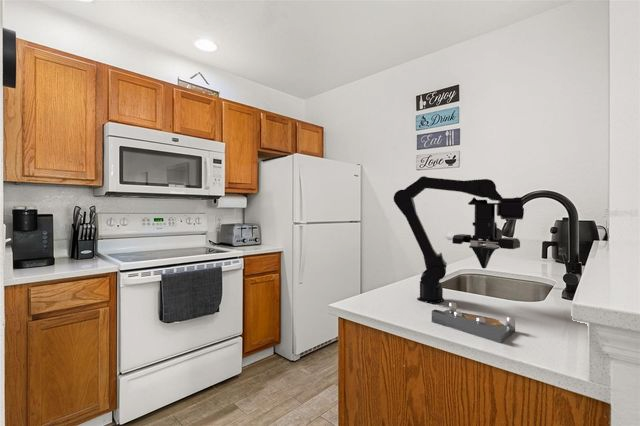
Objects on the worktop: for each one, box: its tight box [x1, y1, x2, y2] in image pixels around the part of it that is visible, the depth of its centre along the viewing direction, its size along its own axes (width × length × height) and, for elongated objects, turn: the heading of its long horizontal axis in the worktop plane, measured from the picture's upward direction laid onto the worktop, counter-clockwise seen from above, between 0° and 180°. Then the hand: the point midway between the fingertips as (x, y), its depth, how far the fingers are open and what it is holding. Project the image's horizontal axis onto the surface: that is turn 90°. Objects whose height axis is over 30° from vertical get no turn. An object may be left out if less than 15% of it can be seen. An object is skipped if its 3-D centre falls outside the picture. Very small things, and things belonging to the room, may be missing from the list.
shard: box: [462, 312, 505, 327], centre depth 89 cm, size 11×8×2 cm
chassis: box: [431, 301, 516, 344], centre depth 86 cm, size 18×10×4 cm, turn 39°
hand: (484, 268), depth 103 cm, fingers closed
